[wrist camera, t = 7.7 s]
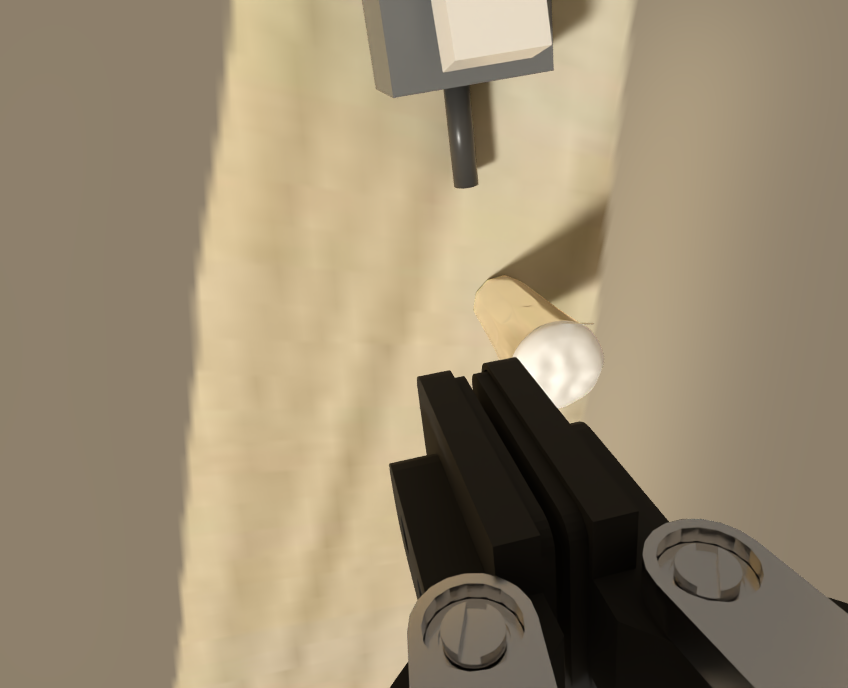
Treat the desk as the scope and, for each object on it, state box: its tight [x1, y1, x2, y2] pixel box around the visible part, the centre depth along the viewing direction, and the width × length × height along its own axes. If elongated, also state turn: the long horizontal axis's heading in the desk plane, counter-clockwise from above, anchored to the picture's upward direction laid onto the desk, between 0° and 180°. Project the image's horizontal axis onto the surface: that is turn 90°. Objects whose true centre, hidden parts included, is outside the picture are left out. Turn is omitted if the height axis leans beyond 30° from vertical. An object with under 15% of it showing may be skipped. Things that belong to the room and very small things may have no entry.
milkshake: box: [473, 275, 604, 408], centre depth 31 cm, size 4×5×10 cm
